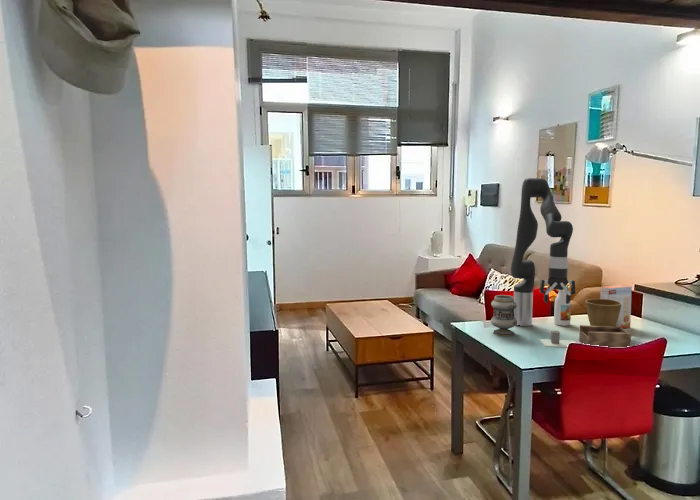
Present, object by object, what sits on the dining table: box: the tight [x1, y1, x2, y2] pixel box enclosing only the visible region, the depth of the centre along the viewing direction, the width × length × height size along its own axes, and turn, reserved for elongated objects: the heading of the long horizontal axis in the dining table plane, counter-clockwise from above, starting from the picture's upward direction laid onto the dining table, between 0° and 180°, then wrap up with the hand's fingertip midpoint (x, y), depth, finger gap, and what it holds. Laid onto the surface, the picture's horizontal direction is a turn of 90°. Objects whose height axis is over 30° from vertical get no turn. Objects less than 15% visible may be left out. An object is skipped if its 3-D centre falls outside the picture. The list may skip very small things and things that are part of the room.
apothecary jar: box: [490, 294, 518, 337], centre depth 228 cm, size 12×12×18 cm
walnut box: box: [578, 324, 632, 347], centre depth 207 cm, size 17×13×7 cm
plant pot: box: [585, 298, 622, 326], centre depth 223 cm, size 15×15×16 cm
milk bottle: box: [553, 285, 572, 327], centre depth 244 cm, size 8×8×20 cm
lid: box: [539, 330, 576, 348], centre depth 210 cm, size 14×10×6 cm
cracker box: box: [599, 284, 632, 329], centre depth 237 cm, size 14×6×21 cm, turn 106°
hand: (556, 303), depth 209 cm, fingers open, 8 cm apart
